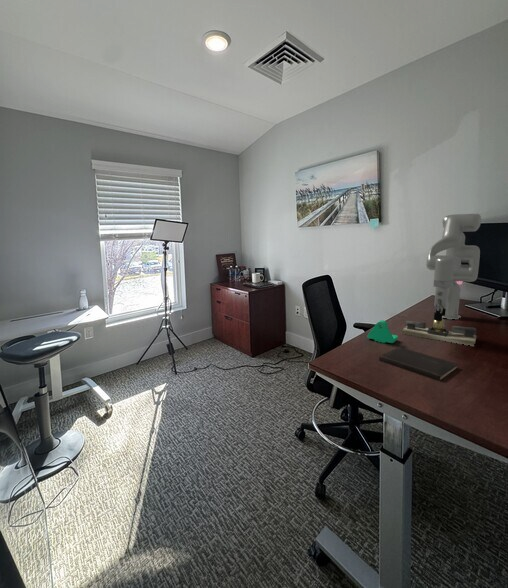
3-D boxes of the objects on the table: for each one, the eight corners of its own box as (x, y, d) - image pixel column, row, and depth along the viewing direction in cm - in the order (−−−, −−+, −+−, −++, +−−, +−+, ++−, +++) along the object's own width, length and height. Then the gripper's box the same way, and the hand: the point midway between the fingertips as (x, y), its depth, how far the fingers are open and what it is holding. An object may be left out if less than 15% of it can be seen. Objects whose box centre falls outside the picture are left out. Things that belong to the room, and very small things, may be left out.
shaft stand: (407, 328, 162) (408, 317, 161) (475, 339, 143) (477, 327, 142) (401, 333, 153) (402, 322, 152) (473, 346, 135) (475, 333, 133)
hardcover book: (398, 351, 133) (399, 346, 132) (457, 369, 115) (458, 363, 114) (378, 361, 123) (379, 356, 123) (439, 382, 105) (440, 376, 105)
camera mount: (398, 340, 145) (399, 320, 143) (392, 345, 139) (394, 324, 137) (373, 335, 153) (374, 316, 150) (367, 340, 147) (368, 319, 145)
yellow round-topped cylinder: (444, 332, 148) (445, 318, 147) (442, 334, 145) (444, 320, 143) (433, 330, 151) (434, 317, 150) (431, 333, 148) (432, 319, 146)
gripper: (449, 287, 134) (445, 324, 138) (454, 281, 147) (451, 314, 151) (430, 286, 139) (427, 321, 143) (436, 280, 152) (434, 312, 156)
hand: (439, 318), depth 147 cm, fingers open, 9 cm apart
